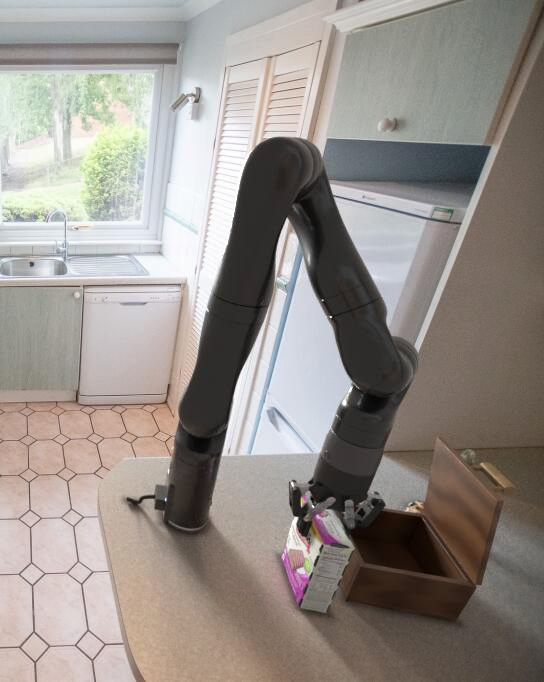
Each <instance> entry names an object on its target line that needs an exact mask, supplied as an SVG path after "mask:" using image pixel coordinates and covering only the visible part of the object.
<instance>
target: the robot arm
mask: <svg viewBox="0 0 544 682" xmlns="http://www.w3.org/2000/svg"><path fill="white" fill-rule="evenodd" d="M326 169H327V168H326V166H325V163H324V158H323V156H322V153H321V151H320V149H319V148H318V146H317V145H315V143H314V142H312V141H310V140H308V139H306V138H303V137H297V136H296V137H295V136H272V137H269V138H267V139H265V140H263V141H261V142H260V143H259V142H258V144H257V145H255V146H254V148H253V147H252V149H251V150H250V151H249V152H248V154H247V155H246V157H245V159H244V161H243V164H242V166H241V169H240V172H239V176H238V182H237V186H236V192H235V198H234V199H235V200H234V204H233V209H232V215H231V217H232V218H231V222H230V226H229V231H228V234H227V239H226V242H225V245H224V247H223V251H222V255H221V256H220V260H219V263H218V264H219V265H218V267H217V271H216V275H215V278H214V281H213V283H212V287H211V290H210V293H209V297H208V301H207V304H206V308H205V313H204V317H203V321H202V326H201V331H200V336H199V341H198V342H199V343H198V349H197V355H196V361H195V364H194V369H193V371H192V374H191V377H190V379H189V382H187V384H186V385H185V387H184V389H183V392H182V394H181V397H180V399H179V402H178V406H177V415H178V422H177V426H176V430H175V435H174V439H173V445H172V451H171V457H170V463H169V468H168V469H167V470H166V476H165V483H164V484H155V487H154V493H153V494H144V495H141V496H140V497H139V498H138V499H134V498H132V497H128V496H127V497H126V502H128V503H131V504H134V505H140V504H142V503H143V501H144V500H153V502H154V503H153V507H154V510H156V511H161V514H162V523H164V524H168V525H169V526H171V527H172V528H174V529H176V530H177V531H181V532H184V533H198V532H201V531H203V530H205V528H206V527H207V525H208V522H209V516H210V515H209V514H210V510H211V506H212V504H213V497H214V492H215V488H216V483H217V478H218V474H219V469H220V466H221V461H222V456H223V453H224V449H225V443H226V439H227V434H228V428H229V424H230V421H231V416H232V412H233V407H234V402H235V401H234V397H235V393H236V389H237V384H238V381H239V379H240V375H241V373H242V371H243V369H244V367H245V365H246V363H247V360H248V359H249V357H250V355H251V353H252V350H253V348H254V346H255V344H256V341H257V339H258V337H259V334H260V331H261V329H262V328H263V326H264V325H263V324H264V322H265V320H266V317H267V314H268V311H269V308H270V305H271V302H272V300H273V295H274V291H275V284H276V273H277V271H276V270H277V269H276V268H277V267H276V265H277V250H278V246H279V245H278V244H279V241H280V237H281V234H282V231H283V229H284V226H285V223H286V222H287V220H288V221H289V223H290V225H291V227H292V229H293V231H294V233H295V236H296V238H297V241H298V243H299V246H300V249H301V254H302V258H303V263H304V266H305V270H306V274H307V277H308V281H309V284H310V287H311V290H312V291H313V293H314V295H315V297H316V300H317V302H318V304H319V305H320V308H321V309H322V311H323V314H324V315H325V317H326V319H327V320H328V322H329V324H330V325H331V328H332V331H333V336H334V340H335V344H336V348H337V351H338V355H339V358H340V361H341V364H342V367H343V369H344V371H345V374H346V376H347V377H348V379H349V381H351V383H350V386H349V388H348V391H347V392H346V394H345V395H344V396H343V398H342V399H341V400H340V402H339V404H338V406H337V409H336V412H335V414H334V417H333V420H332V423H331V426H330V428H329V430H328V431H327V433H326V434H325V435H326V436H325V438H324V441H323V444H322V446H321V449H320V452H319V455H318V458H317V461H316V464H315V467H314V470H313V475H312V477H311V478H310V479H309V480H308V481H307V482H297V480H296V479H290V480H288V504H289V508H290V510H291V512H292V513H291V514H292V516H293V517H294V516H295V517H298V520H297V523H296V526H297V529H298V532H299V533H300V534H301V536H303V537H307V535H308V532H309V529H310V526H311V524H312V522H311V520H312V519H313V518H314V517H315V516H316V515H320V514H321V513H322V512H323V511H324V510H325V509H327V510H331V509H333V510H336V511H340V512H341V516H342V518H339V519H340V521H341V523H342V525H343V526H344V528H345V530H346V532H347V534H348V536H349V535H350V532H351V530H352V529H353V528H355V526H361V527H362V528H366V527H368V526H369V525H370V524H371V522H372V521H373V520H374V519H375V518H376V517H377V515H378V514H379V513H380V512H381V511H382V510H383V508H385V507H386V506H387V504H386V502H385V500H384V499H383V498H382V496H381V494H380V493H379V492H378V491H372V492H369V491H370V489H371V486H372V483H373V482H374V479H375V476H376V474H377V472H378V470H379V467H380V465H381V463H382V460H383V457H384V453H385V447H386V444H387V442H388V439H389V437H390V435H391V432H392V430H393V427H394V424H395V421H396V417H397V414H398V410H399V408H400V406H401V405H402V403H403V401H404V400H405V397H406V395H407V393H408V392H409V390H410V388H411V386H412V383H413V382H414V380H415V378H416V375H417V374H418V371H419V368H420V364H421V358H420V354H419V351H418V349H417V348H416V346H415V345H414V344H412V343H411V342H410V341H409V340H407V339H405V338H403V337H400V336H397V335H392V334H391V331H390V328H389V326H388V324H387V323H388V322H387V317H388V307H387V305H386V301H385V300H384V298H383V296H382V294H381V292H380V290H379V288H378V286H377V284H376V282H375V280H374V279H373V277H372V275H371V273H370V271H369V269H368V267H367V266H366V264H365V262H364V259H362V256H361V254H360V253H359V251H358V248H357V247H356V245H355V243H354V241H353V239H352V237H351V235H350V233H349V230H348V229H347V226H346V224H345V223H344V220H343V218H342V215H341V213H340V210H339V207H338V206H337V202H336V200H335V196H334V194H333V190H332V186H331V183H330V180H329V176H328V173H327V170H326ZM308 492H310V493H309V494H307V495H308V496H307V498H306V501H305V502H304V504H303V505H302V506H301V498H303V497H304V495H306V493H308ZM358 504H360V505H361V506H360V507H359V508H358V510H357V511H356V512H355V513H354V506H356V505H358Z"/></svg>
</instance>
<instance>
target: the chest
mask: <svg viewBox="0 0 544 682" xmlns="http://www.w3.org/2000/svg"><path fill="white" fill-rule="evenodd" d="M361 505H362V504H361V503H360V504H358V505H356V506H354V513H355V512H356V511H357V510H358V508H359V507H360V506H361ZM335 511H336V510H335ZM336 513H337V515H338V517H339V518H342V516H341V512H340V511H336ZM349 538H350V540H351V542H352V544H353V546H354V548H355V549H354V551H353V554H352V556H351V558H350V560H349V563H348V565H347V568H346V570H345V572H344V575H343V577H342V579H341V582H340V584H339V586H338V588H339V589H340V591H341V594H342V596H343V598H344V602H348V603H354V604H359V605H364V606H369V607H375V608H379V609H385V610H390V611H394V612H401V613H405V614H410V615H415V616H420V617H426V618H430V619H437V620H441V621H446V622H452V623H456V622H457V620H458V619H459V617H460V615H461V614H462V613H463V611H464V609H465V607H466V606H467V604H468V603H469V601H470V599H471V598H472V596H473V595H474V594H475V592H476V590H477V588H478V585H475V584H474V582H473V581H472V580H471V578H470V577H469V575H468V574H467V573H466V571H465V570H464V568H463V567H462V566H461V564H460V563H459V562H458V560H457V559H456V557H455V556H454V555H453V553H452V552H451V550H450V549H449V548H448V546H447V545H446V543H445V542H444V541H443V539H442V538H441V537H440V535H439V534H438V532H437V531H436V530H435V528H434V527H433V526H432V524H431V523H430V521H429V520H428V519H427V517H426V516H425V515H424V514H419V513H412V512H406V511H404V510H399V509H392V508H387V507H386V508H385V507H384V508H383V510H382V511H381V512H380V513H379V514H378V515H377V517H376V518H375V519H374V520H373V521H372V522H371V524H370V525H369V526H368V527H366V528H362V527H361V526H355V528H353V529H352V530H351V532H350V535H349Z"/></svg>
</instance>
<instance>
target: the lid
mask: <svg viewBox="0 0 544 682" xmlns="http://www.w3.org/2000/svg"><path fill="white" fill-rule="evenodd" d="M432 455H433V456H432V460H431V468H430V471H429V478H428V483H427V489H426V494H425V500H424V503H425V504H424V510H423V513H424V514H425V516H426V517H427V519H428V520H429V521H430V523H431V524H432V525H433V527H434V528H435V530H436V531H437V532H438V534H439V535H440V537H441V538H442V539H443V541H444V542H445V544H446V545H447V546H448V548H449V549H450V551H451V552H452V553H453V555H454V556H455V557H456V559H457V560H458V562H459V563H460V564H461V566H462V567H463V569H464V570H465V571H466V573H467V574H468V576H469V577H470V578H471V580H472V581H473V583H474V584H475V585H476V586H482V585H483V581H484V577H485V574H486V569H487V566H488V562H489V558H490V555H491V551H492V548H493V543H494V540H495V537H496V532H497V528H498V526H499V521H500V518H501V513H502V509H503V506H504V500H503V498H502V497H501V496H500V495H499V494H498V493H502V494H503V495H505V496H509V497H511V496H514V495H516V494H517V492H518V488H517V487H516V486H515V485H514V484H513V483H512V482H511V481H509V479H508V478H506V477H505V476H504V475H503V474H502V473H501V472H500V471H499V470H498V469H497V468H496V467H495V466H494V465H493V464H492V463H491V462H488V461H483V462H481V463H479V464H472V465H469V464H468V463H467V462H466V461H465V460H464V459H463V458H462V457H461V456H460V455H461V454H459V452H457V451H456V450H455V449H454V447H452V445H451V444H450V443H449V442H448V441H446V439H445V438H444V437H443V436H436V439H435V445H434V449H433V454H432ZM477 472H481V473H482V474H483V475H484V476H485V477H486V478H487V479H488V480H489V481H490V483H492V484H493V485H489V484H488V483H487V482H486V480H484V479H483V478H482V477H481V476H480V474H478V473H477Z"/></svg>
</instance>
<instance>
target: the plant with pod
mask: <svg viewBox="0 0 544 682" xmlns="http://www.w3.org/2000/svg"><path fill="white" fill-rule="evenodd" d="M459 455H460V456H461V457H462V458H463V459H464V460H465V461H466V462H467V463H468V464H469V465H474V463H475V462H476V456H477V454H476V452H475V451H474V450H472V449H470V448H469V449H467V448H466V449H464V450H463V451H462V452H461V453H460V454H459ZM424 504H425V502H423V501H421V500H415V501H410V502H408V505H405V509H404V510H403V511H406V512H412V513H419V514H424V513H423V510H424ZM424 515H425V514H424ZM432 526H433V525H432Z"/></svg>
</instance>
